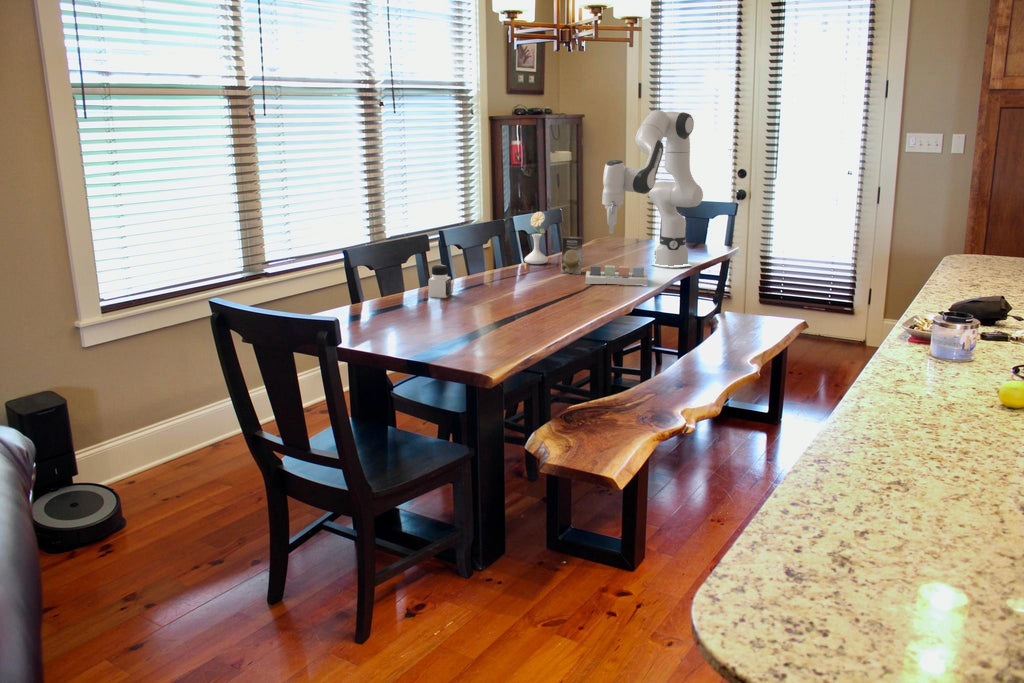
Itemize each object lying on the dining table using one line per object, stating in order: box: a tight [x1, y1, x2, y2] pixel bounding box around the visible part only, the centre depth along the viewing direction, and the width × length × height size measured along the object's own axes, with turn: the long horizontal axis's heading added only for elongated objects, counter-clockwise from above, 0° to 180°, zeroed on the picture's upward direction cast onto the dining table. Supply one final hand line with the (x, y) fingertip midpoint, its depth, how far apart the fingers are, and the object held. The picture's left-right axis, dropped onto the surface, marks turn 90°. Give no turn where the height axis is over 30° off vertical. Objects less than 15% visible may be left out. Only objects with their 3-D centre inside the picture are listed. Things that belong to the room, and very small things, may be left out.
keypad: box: [584, 270, 649, 286], centre depth 366 cm, size 14×26×3 cm, turn 84°
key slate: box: [632, 265, 645, 277], centre depth 365 cm, size 4×4×4 cm
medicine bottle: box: [428, 264, 452, 299], centre depth 335 cm, size 7×7×12 cm
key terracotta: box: [618, 265, 630, 277], centre depth 365 cm, size 4×4×4 cm
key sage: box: [603, 264, 616, 276], centre depth 366 cm, size 4×4×4 cm
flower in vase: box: [523, 211, 549, 265], centre depth 403 cm, size 13×11×25 cm
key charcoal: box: [589, 264, 602, 276], centre depth 367 cm, size 4×4×4 cm
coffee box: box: [560, 235, 583, 275], centre depth 384 cm, size 9×6×16 cm
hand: (611, 233), depth 362 cm, fingers closed
